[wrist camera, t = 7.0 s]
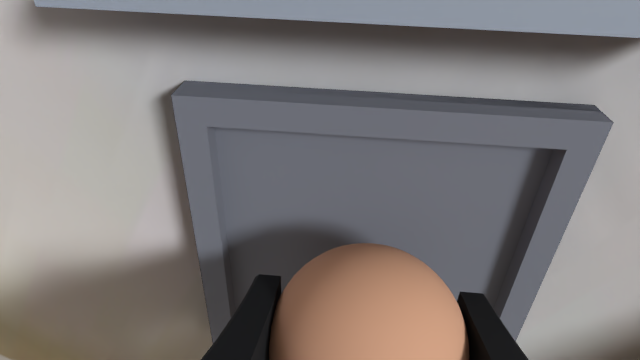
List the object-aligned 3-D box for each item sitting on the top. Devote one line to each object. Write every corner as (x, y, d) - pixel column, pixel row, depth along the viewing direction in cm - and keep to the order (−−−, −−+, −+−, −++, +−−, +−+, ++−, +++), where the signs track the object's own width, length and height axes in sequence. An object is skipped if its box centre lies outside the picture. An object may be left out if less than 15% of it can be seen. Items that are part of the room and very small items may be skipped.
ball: (284, 317, 15) (254, 485, 11) (283, 198, 12) (241, 360, 8) (433, 330, 14) (462, 507, 10) (466, 212, 12) (525, 387, 8)
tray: (221, 334, 17) (215, 356, 17) (184, 80, 12) (171, 95, 11) (490, 358, 17) (497, 381, 16) (594, 105, 11) (613, 122, 10)
